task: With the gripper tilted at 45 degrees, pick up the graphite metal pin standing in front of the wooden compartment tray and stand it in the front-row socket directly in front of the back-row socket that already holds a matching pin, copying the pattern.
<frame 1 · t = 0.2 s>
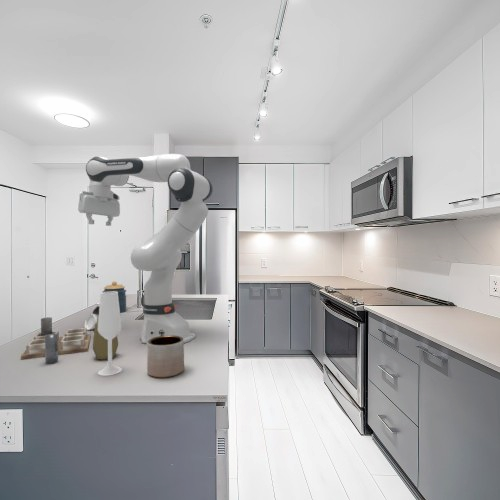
hand: (100, 225, 143), 48 cm above the countertop, tool pointing down, fingers open, 8 cm apart
canister: (114, 311, 185), on the countertop
squeeze bottle: (105, 357, 109), on the countertop
champagne flute: (110, 371, 97), on the countertop
planter: (166, 372, 97), on the countertop
spread jar: (100, 328, 148), on the countertop
pin: (51, 362, 104), on the countertop
wooden compartment tray: (59, 347, 120), on the countertop
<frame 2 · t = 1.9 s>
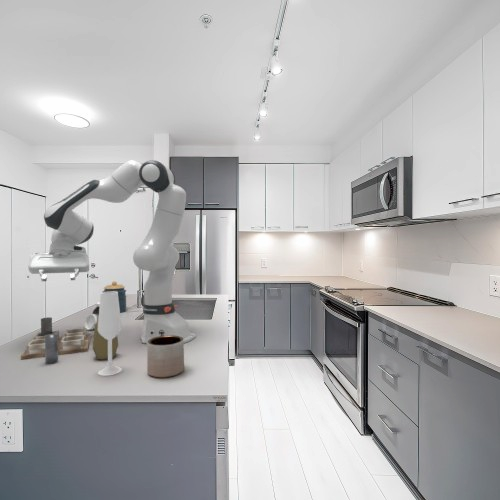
hand: (58, 279, 119), 26 cm above the countertop, tool tilted 45°, fingers open, 8 cm apart
nothing on the countertop moved.
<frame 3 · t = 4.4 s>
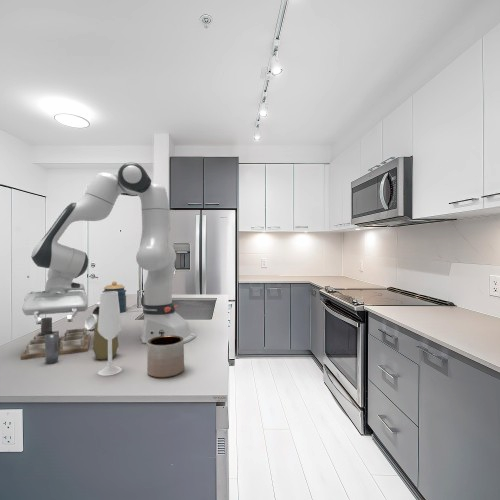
hand: (54, 322, 111), 12 cm above the countertop, tool tilted 45°, fingers open, 8 cm apart
nothing on the countertop moved.
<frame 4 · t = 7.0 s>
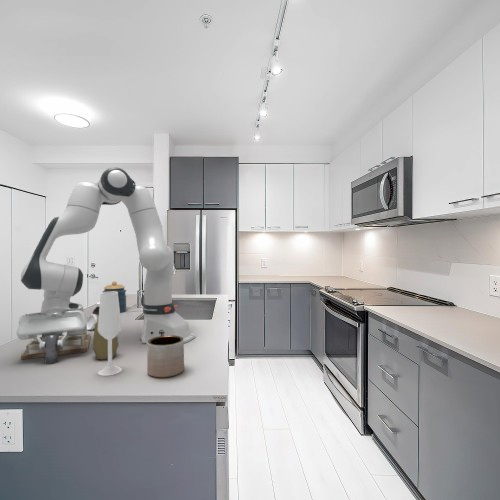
hand: (51, 347, 104), 5 cm above the countertop, tool tilted 45°, fingers closed on pin, 4 cm apart
pin: (51, 362, 104), on the countertop, touching gripper
everything else where it was.
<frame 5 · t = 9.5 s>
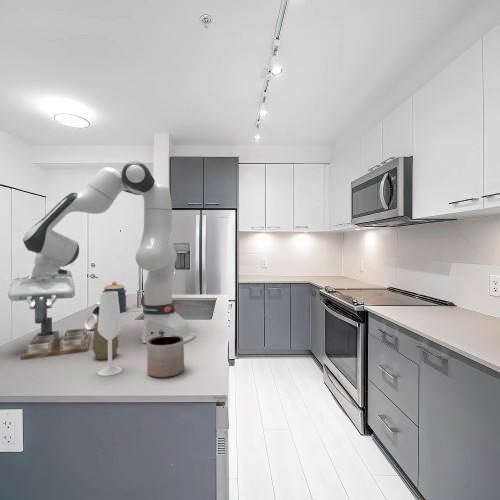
hand: (40, 307, 111), 17 cm above the countertop, tool tilted 45°, fingers closed on pin, 4 cm apart
pin: (41, 322, 111), point 12 cm above the countertop, touching gripper
everything else where it was.
when the fingers open (8 cm above the countertop, at t = 12.1 s): pin drops 1 cm, resting on wooden compartment tray.
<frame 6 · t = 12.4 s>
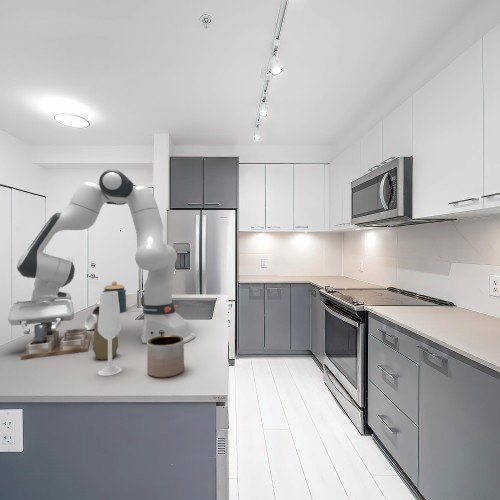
hand: (40, 331, 112), 8 cm above the countertop, tool tilted 45°, fingers open, 7 cm apart
pin: (41, 350, 113), point 1 cm above the countertop, touching wooden compartment tray
everything else where it was.
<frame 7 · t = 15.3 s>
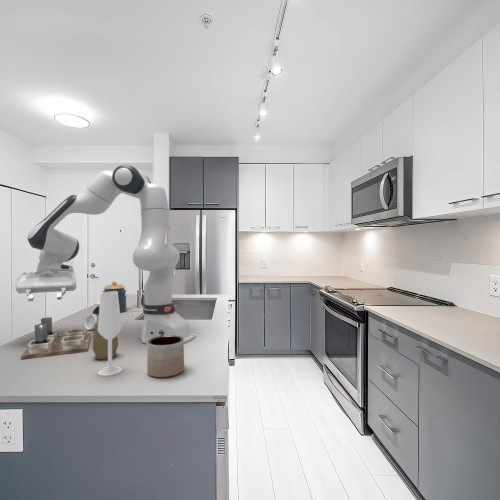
hand: (45, 299, 121), 18 cm above the countertop, tool tilted 45°, fingers open, 8 cm apart
nothing on the countertop moved.
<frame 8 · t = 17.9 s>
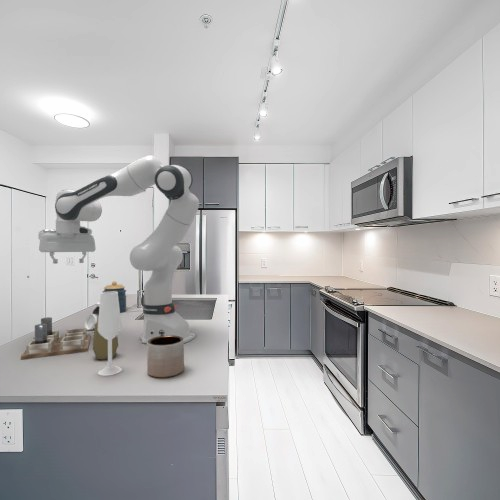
hand: (68, 263, 131), 31 cm above the countertop, tool pointing down, fingers open, 8 cm apart
nothing on the countertop moved.
at the end: pin 0.1 cm from the target spot, point 1.2 cm above the countertop; pin tilted 0°; the gripper is holding nothing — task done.
